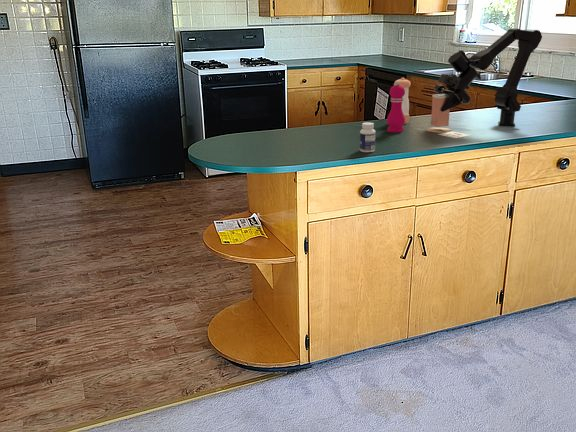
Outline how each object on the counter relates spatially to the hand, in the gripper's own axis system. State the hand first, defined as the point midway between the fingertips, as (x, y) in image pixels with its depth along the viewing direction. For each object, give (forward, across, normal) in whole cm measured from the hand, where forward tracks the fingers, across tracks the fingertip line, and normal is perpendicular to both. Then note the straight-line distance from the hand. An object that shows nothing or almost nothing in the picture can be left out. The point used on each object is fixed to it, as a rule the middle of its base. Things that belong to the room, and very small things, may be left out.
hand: (437, 110), depth 236 cm
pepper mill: (+17, -6, -5) cm, 19 cm away
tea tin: (+4, 0, +5) cm, 6 cm away
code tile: (+5, +10, +7) cm, 13 cm away
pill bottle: (+35, +20, -23) cm, 47 cm away
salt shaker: (+9, -22, +3) cm, 24 cm away
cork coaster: (+5, 0, +7) cm, 9 cm away
